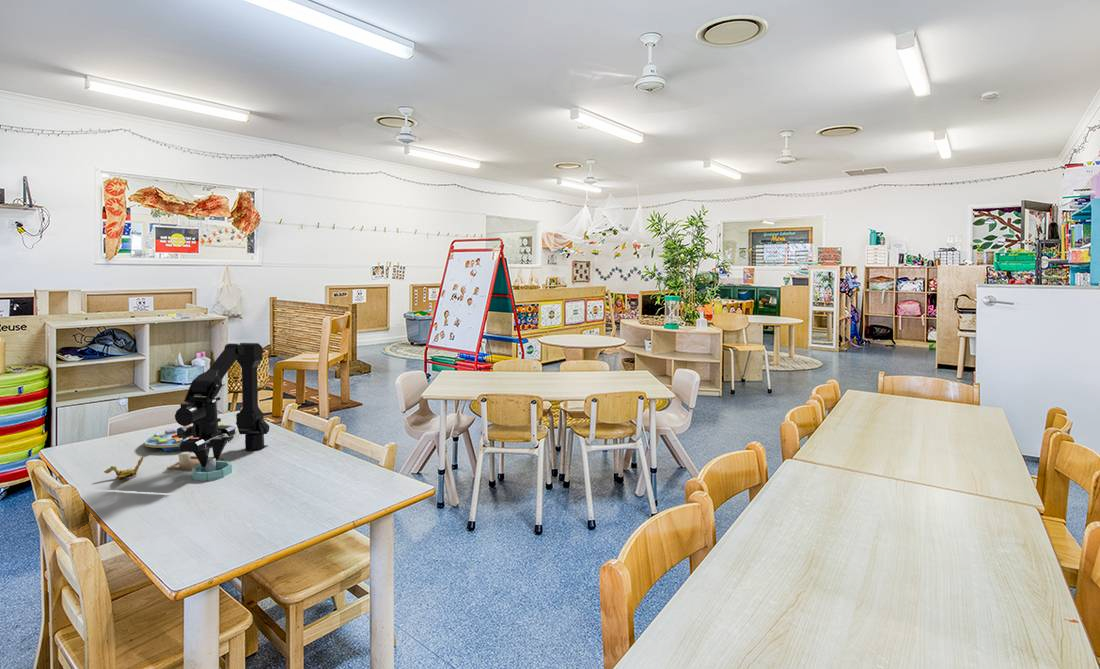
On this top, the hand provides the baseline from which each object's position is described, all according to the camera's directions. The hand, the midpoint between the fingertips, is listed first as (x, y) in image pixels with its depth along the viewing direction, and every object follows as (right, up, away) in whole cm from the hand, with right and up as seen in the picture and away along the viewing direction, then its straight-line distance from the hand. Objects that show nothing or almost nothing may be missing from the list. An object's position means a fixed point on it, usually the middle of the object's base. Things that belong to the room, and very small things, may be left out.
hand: (210, 463), depth 183 cm
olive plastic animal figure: (-23, -4, -4) cm, 24 cm away
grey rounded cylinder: (0, -3, 0) cm, 3 cm away
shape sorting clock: (-26, +1, +33) cm, 42 cm away
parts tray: (-9, -3, +8) cm, 12 cm away
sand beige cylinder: (-12, -2, +5) cm, 13 cm away
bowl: (+1, -4, -1) cm, 4 cm away
